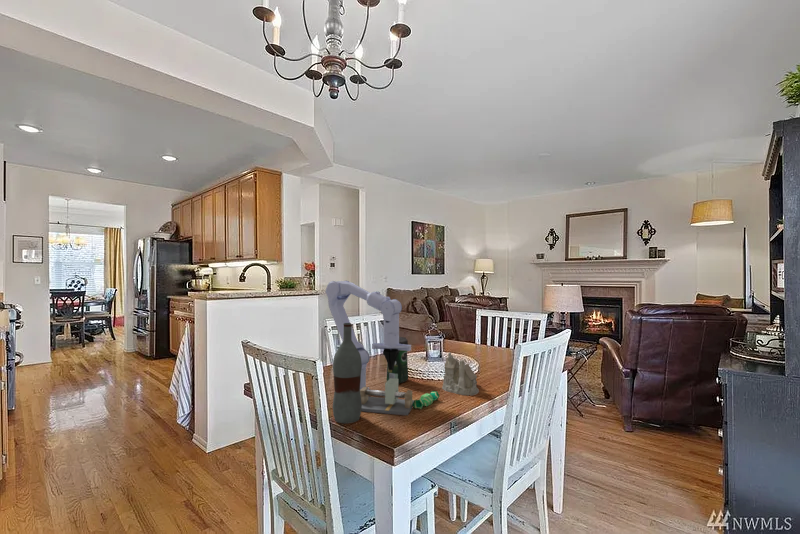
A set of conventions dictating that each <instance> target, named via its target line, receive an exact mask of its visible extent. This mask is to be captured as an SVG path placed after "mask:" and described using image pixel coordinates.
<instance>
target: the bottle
mask: <svg viewBox="0 0 800 534" xmlns="http://www.w3.org/2000/svg"><path fill="white" fill-rule="evenodd" d="M343 325H344V333H343V341H342V342H341V343H340V345H339V347H338V348H337V350H336V351H335V353H334V355H333V356H334V357H333V363H332V373H333V374H332V375H333V387H334V392H333V400H332V414H333V418H334V421H335V422H336V423H337V424H338V423H340V424H352V423H355V422H358V421H359V420H360V418H361V414H362V411H361V408H362V402H361V394H360V381H361V369H362V362H361V356H360V353H359V351H358V350H357V348H356V347H355V345H354V343H353V342H352V336H351V326H352V323H351V322H350V323H344V324H343Z"/></svg>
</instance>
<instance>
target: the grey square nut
mask: <svg viewBox="0 0 800 534" xmlns="http://www.w3.org/2000/svg"><path fill="white" fill-rule="evenodd" d="M384 391H385V396H384V398H385V404H394V403H395V402H396V401H397V400H398V399H399V398H398V397H395V392H399V383H398V379H394V378H390V379H389V380H388V381H387V380H386V382H385V385H384Z"/></svg>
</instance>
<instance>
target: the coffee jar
mask: <svg viewBox="0 0 800 534" xmlns="http://www.w3.org/2000/svg"><path fill="white" fill-rule="evenodd" d="M408 342H409V341H408V338H406V337H404V336H399V344H406V345H409V343H408ZM408 363H409V362H408V351H405V350H400V351H399V353H398V355H397V358H396V361H395V365H394V369H393V370H389V368H388V364H387V363H386V364H387V365H386V382H387V381H388V380H389V379H390V378H394V379H398V384H403V383H405V382H407V381H408V379H409V367H408Z"/></svg>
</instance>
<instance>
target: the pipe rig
mask: <svg viewBox="0 0 800 534" xmlns="http://www.w3.org/2000/svg"><path fill="white" fill-rule="evenodd" d="M368 387H369V386H366V387H363V388H362V389H361V390H360V394H361V402H362V408H361V412H364V413H373V414H375V413H376V414H388V415H396V416H397V415H398V416H406V415H407V416H409V414H410V412H411V411H412V409H414V407H413V405H412V404H413V402H414V400H415V399H413V390H411V389H407V390H406V392H402V391H398V392H395V397H398V400H397V401H396V402H395V403H394V404H385V390H379V389H368Z"/></svg>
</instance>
